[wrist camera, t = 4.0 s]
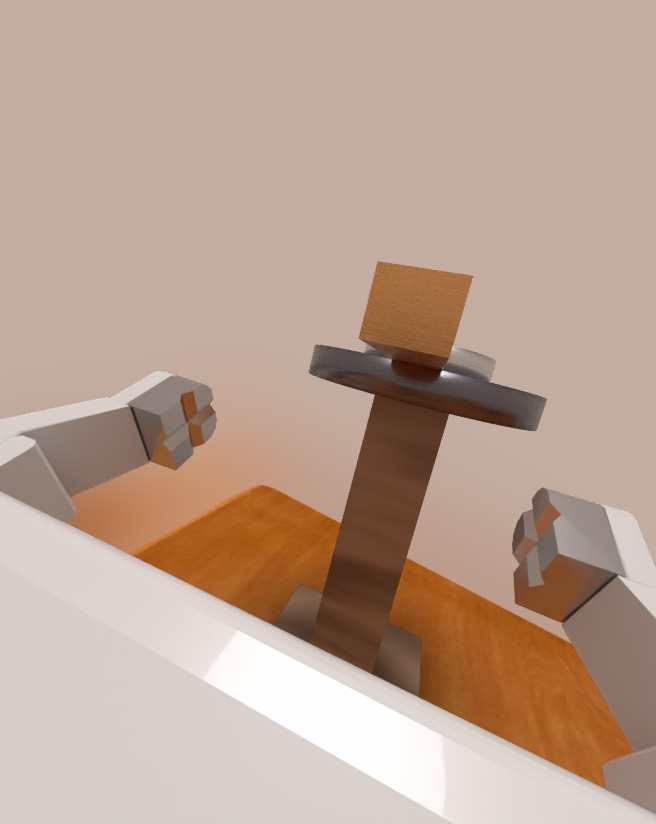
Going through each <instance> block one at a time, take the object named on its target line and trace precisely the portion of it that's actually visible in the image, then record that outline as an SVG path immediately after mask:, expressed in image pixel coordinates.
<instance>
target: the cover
mask: <svg viewBox="0 0 656 824" xmlns="http://www.w3.org/2000/svg"><path fill="white" fill-rule="evenodd" d="M472 278H473V276H469V275H463V274H457V273H450V272H444V271H437V270H431V269H424V268H417V267H411V266H405V265H398V264H391V263H384V262H378V263H377V267H376V271H375V275H374V279H373V283H372V287H371V291H370V295H369V299H368V303H367V307H366V311H365V315H364V319H363V323H362V327H361V331H360V335H359V339H360V340H362V341H364V342H365V343H367V346H366V349H365V353H366V354H370V355H375V356H380V357H384V358H389V359H393V360H398V361H402V362H407V363H411V364H415V365H420V366H424V367H428V368H433V369H437V370H441V371H445V372H450V373H454V374H458V375H462V376H466V377H470V378H474V379H478V380H482V381H486V382H490V379H491V377H492V374H493V370H494V367H495V364H496V360H494V359H492V358H490V357H488V356H485V355H482V354H479V353H476V352H473V351H469V350H466V349H462V348H459V347H455V346H453V343H454V340H455V337H456V333H457V330H458V326H459V323H460V320H461V316H462V312H463V309H464V306H465V302H466V299H467V295H468V292H469V288H470V285H471V282H472Z"/></svg>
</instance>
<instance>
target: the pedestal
mask: <svg viewBox="0 0 656 824" xmlns="http://www.w3.org/2000/svg"><path fill="white" fill-rule="evenodd" d="M309 373H310V374H312V375H314V376H317V377H319V378H322V379H325V380H328V381H331V382H334V383H337V384H341V385H344V386H347V387H351V388H354V389H357V390H361V391H365V392H368V393H371V394H375V397H374V401H373V405H372V408H371V412H370V416H369V420H368V423H367V428H366V431H365V435H364V439H363V442H362V446H361V450H360V454H359V458H358V462H357V465H356V469H355V473H354V477H353V481H352V484H351V488H350V492H349V496H348V500H347V503H346V507H345V511H344V515H343V519H342V522H341V526H340V530H339V534H338V538H337V542H336V545H335V549H334V553H333V557H332V561H331V564H330V568H329V572H328V576H327V580H326V584H325V587H324V591H323V594H322V593H320V592H317V591H315V590H313V589H310V588H308V587H306V586H304V585H301V584H300V585H299V586H298V588H297V589H296V591H295V592H294V594H293V595H292V597H291V598H290V600H289V601H288V603H287V604H286V606H285V607H284V609H283V610H282V612H281V613H280V615H279V616H278V618H277V619H276V620H275V622H274V623H273V626H275V627H277V628H279V629H281V630H283V631H285V632H287V633H289V634H291V635H293V636H295V637H297V638H299V639H301V640H303V641H305V642H307V643H310V644H312V645H314V646H316V647H318V648H320V649H322V650H324V651H326V652H328V653H330V654H332V655H334V656H336V657H338V658H340V659H342V660H344V661H346V662H348V663H350V664H352V665H354V666H356V667H358V668H360V669H362V670H364V671H366V672H368V673H370V674H372V675H374V676H376V677H378V678H381V679H383V680H385V681H387V682H389V683H391V684H393V685H395V686H397V687H399V688H401V689H403V690H405V691H407V692H409V693H411V694H413V695H415V696H417V697H419V687H420V666H421V645H422V638H421V637H419V636H417V635H414V634H412V633H410V632H407V631H405V630H403V629H401V628H398V627H396V626H394V625H392V624H389V623H387V621H388V617H389V614H390V611H391V607H392V604H393V601H394V597H395V594H396V591H397V587H398V584H399V581H400V577H401V574H402V570H403V567H404V564H405V560H406V557H407V554H408V550H409V547H410V543H411V540H412V537H413V533H414V530H415V527H416V523H417V520H418V516H419V513H420V509H421V507H422V503H423V500H424V496H425V493H426V490H427V486H428V483H429V480H430V476H431V473H432V470H433V466H434V463H435V459H436V456H437V453H438V449H439V446H440V443H441V439H442V436H443V433H444V429H445V426H446V422H447V419H448V416H449V414H453V415H457V416H461V417H465V418H469V419H474V420H478V421H483V422H487V423H491V424H496V425H501V426H506V427H511V428H517V429H522V430H528V431H536V430H537V428H538V425H539V422H540V419H541V416H542V413H543V410H544V407H545V404H546V401H547V399H546V398H543V397H540V396H538V395H534V394H531V393H527V392H524V391H520V390H517V389H513V388H509V387H506V386H501V385H498V384H494V383H490V382H486V381H482V380H478V379H474V378H470V377H466V376H462V375H458V374H454V373H450V372H445V371H441V370H437V369H433V368H428V367H424V366H420V365H415V364H411V363H407V362H402V361H398V360H393V359H389V358H384V357H380V356H375V355H370V354H366V353H361V352H356V351H351V350H346V349H341V348H336V347H330V346H323V345H315V348H314V352H313V356H312V361H311V366H310V369H309Z"/></svg>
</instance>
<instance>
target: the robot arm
mask: <svg viewBox="0 0 656 824" xmlns="http://www.w3.org/2000/svg"><path fill="white" fill-rule="evenodd" d="M212 400H213V396H212V390H211V388H209V387H208V386H207V385H204V384H201V383H198V382H195V381H192V380H189V379H186V378H183V377H180V376H176V375H173V374H170V373H167V372H164V371H156V372H154V373H152V374H150V375H149V376H147V377H145V378H144V379H142V380H140V381H138V382H137V383H135V384H133V385H132V386H130V387H128V388H127V389H125V390H123V391H121V392H120V393H118V394H116V395H115V396H113V397H111V398H110V399H108V398H105V397H104V398H99V399H95V400H89V401H85V402H80V403H75V404H71V405H66V406H61V407H57V408H52V409H47V410H42V411H38V412H33V413H28V414H24V415H19V416H14V417H10V418H5V419H0V824H656V568H655V565H654V563H653V560H652V558H651V555H650V553H649V551H648V548H647V546H646V544H645V541H644V538H643V536H642V534H641V531H640V529H639V526H638V524H637V521H636V519H635V517H634V516H633V515H632V514H631V513H629V512H627V511H623V510H619V509H616V508H613V507H609V506H606V505H602V504H596V503H593V502H590V501H587V500H583V499H580V498H576V497H573V496H570V495H566V494H563V493H560V492H556V491H553V490H550V489H546V488H541V489H540V490H539V491H537V493H536V494H535V496H534V497H533V499H532V504H533V510H529V511H527V512H524V513H523V514H522V515H521V517H520V519H519V520H518V522H517V525H516V528H515V531H514V535H513V543H512V545H513V546H512V548H513V555H514V557H515V558H516V560H517V561H518V562H519V564H520V565H519V566H518V568H517V569H516V571H515V572H514V589H515V603H516V604H518V605H520V606H522V607H525V608H527V609H530V610H532V611H534V612H537V613H539V614H541V615H544V616H546V617H549V618H551V619H553V620H556V621H558V622H561V623H563V624H562V627H563V628H564V631H565V632H566V634H567V636H568V637H569V639H570V641H571V643H572V645H573V646H574V648H575V650H576V652H577V653H578V655H579V657H580V659H581V660H582V662H583V664H584V666H585V667H586V669H587V671H588V672H589V674H590V676H591V678H592V679H593V681H594V683H595V685H596V686H597V688H598V690H599V692H600V693H601V695H602V697H603V699H604V700H605V702H606V704H607V706H608V707H609V709H610V711H611V713H612V714H613V716H614V718H615V720H616V721H617V723H618V725H619V727H620V728H621V730H622V732H623V733H624V735H625V737H626V739H627V740H628V742H629V744H630V746H631V747H632V749H633V751H634V753H632V754H629V755H626V756H623V757H620V758H617V759H614V760H610V761H609V762H607V763H606V764H604V765H603V766H602V767H603V773H604V779H605V785H606V789H604V788H602V787H600V786H598V785H596V784H593V783H591V782H589V781H587V780H585V779H583V778H581V777H579V776H577V775H575V774H573V773H571V772H569V771H567V770H565V769H563V768H561V767H559V766H557V765H555V764H553V763H551V762H549V761H547V760H545V759H543V758H541V757H539V756H537V755H535V754H533V753H531V752H529V751H527V750H525V749H522V748H520V747H518V746H516V745H514V744H512V743H510V742H508V741H506V740H504V739H502V738H500V737H498V736H496V735H494V734H492V733H490V732H488V731H486V730H484V729H482V728H480V727H478V726H476V725H474V724H472V723H470V722H468V721H466V720H464V719H462V718H460V717H458V716H456V715H454V714H452V713H449V712H447V711H445V710H443V709H441V708H439V707H437V706H435V705H433V704H431V703H429V702H427V701H425V700H423V699H421V698H419V697H417V696H415V695H413V694H411V693H409V692H407V691H405V690H403V689H401V688H399V687H397V686H395V685H393V684H391V683H389V682H387V681H385V680H383V679H381V678H378V677H376V676H374V675H372V674H370V673H368V672H366V671H364V670H362V669H360V668H358V667H356V666H354V665H352V664H350V663H348V662H346V661H344V660H342V659H340V658H338V657H336V656H334V655H332V654H330V653H328V652H326V651H324V650H322V649H320V648H318V647H316V646H314V645H312V644H310V643H307V642H305V641H303V640H301V639H299V638H297V637H295V636H293V635H291V634H289V633H287V632H285V631H283V630H281V629H279V628H277V627H275V626H273V625H271V624H269V623H267V622H265V621H263V620H261V619H259V618H257V617H255V616H253V615H251V614H249V613H247V612H245V611H243V610H241V609H239V608H236V607H234V606H232V605H230V604H228V603H226V602H224V601H222V600H220V599H218V598H216V597H214V596H212V595H210V594H208V593H206V592H204V591H202V590H200V589H198V588H196V587H194V586H192V585H190V584H188V583H186V582H184V581H182V580H180V579H178V578H176V577H174V576H172V575H170V574H168V573H165V572H163V571H161V570H159V569H157V568H155V567H153V566H151V565H149V564H147V563H145V562H143V561H141V560H139V559H137V558H135V557H133V556H131V555H129V554H127V553H125V552H123V551H121V550H119V549H117V548H115V547H113V546H111V545H109V544H107V543H105V542H103V541H101V540H98V539H96V538H94V537H92V536H90V535H88V534H86V533H84V532H82V531H80V530H78V529H76V528H74V527H72V526H70V525H68V524H66V523H67V522H68V521H69V520H70V519H71V518H73V517H74V516H75V515H76V512H77V508H76V507H75V505H74V503H73V502H72V500H71V498H70V497H72V496H74V495H77V494H79V493H81V492H83V491H86V490H88V489H90V488H93V487H95V486H97V485H99V484H102V483H104V482H106V481H109V480H111V479H113V478H115V477H118V476H120V475H122V474H124V473H127V472H129V471H131V470H133V469H136V468H138V467H140V466H143V465H145V464H147V463H149V461H151V462H154V463H156V464H159V465H162V466H165V467H168V468H170V469H173V470H177V469H178V468H179V467H180V466H181V465H182V464H183V463H184V462H185V461H186V460H187V459H188V458H190V457H191V456H192V455H193V451H194V447H196V446H199V445H202V444H204V443H205V442H206V441H207V440H208V439H209V438H211V436H212V434H213V432H214V430H215V428H216V421H217V419H216V412H215V411H214V410H213V408H212V407H211V405H210V403H211V402H212Z"/></svg>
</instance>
